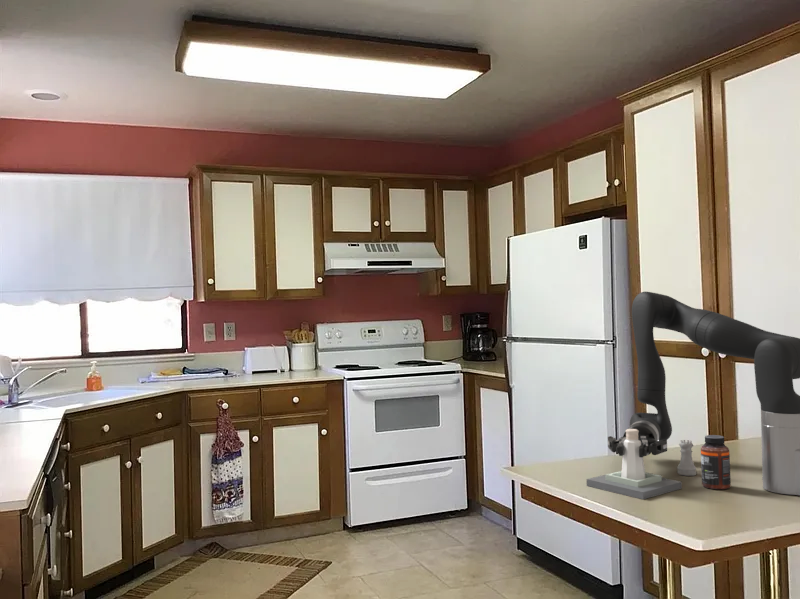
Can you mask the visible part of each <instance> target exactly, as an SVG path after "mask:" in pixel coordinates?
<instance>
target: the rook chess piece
mask: <svg viewBox="0 0 800 599" xmlns="http://www.w3.org/2000/svg"><path fill="white" fill-rule="evenodd" d="M678 446H679V447H680V450H679V451H680V461H679V463H678V465H677V467H676V468H677V471H676V473H677V474H678V475H679V476H682V477H683V476H684V477H693V476H694V477H695V476H696V475H697V467H696V466H695V463H694V461H693V457H692V456H693V455H692V453H693V449H692V448H693V447H694V444H693V443H692V440H690V439H689V440H688V439H682V440H680V442H679V444H678Z"/></svg>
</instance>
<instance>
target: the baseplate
mask: <svg viewBox="0 0 800 599" xmlns="http://www.w3.org/2000/svg"><path fill="white" fill-rule="evenodd" d="M621 471H622V470H619V471H616V472H615V471H614V472H609V473H605V474H603V475H602V474H601V475H599V476H594V477H589V478H586V487H589V488H594V489H598V490H603V491H606V492H607V491H608V492H611V493H616V494H619V495H623V496H629V497H630V498H631V497H632V498H636V499H640V500H646V499H649V498H653V497H656V496H659V495H663V494H666V493H670V492H674V491H679V490H682V488H683V485H682V483H683V482H682V481H679V480H675V479H670V478H666V477H662V475H661V474H656V473H650V472H646V471H645V477H646V478H645V479H641V480H633V479H628V478H623V477H621Z"/></svg>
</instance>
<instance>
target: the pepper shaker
mask: <svg viewBox="0 0 800 599" xmlns="http://www.w3.org/2000/svg"><path fill="white" fill-rule="evenodd" d="M625 431H626V439H627V440H625V441H624V455H623V456H622V458H621V459H622V461H621V470H620V471H621V477H623V478H628V479H633V480H641V479H645V478H646V477H645V472H646V469H645V464H644V461H645V460H644V457H639V447H640V446H641V441H640V440H638V432H639V431H638V430H637V429H628V428H627V429H625Z"/></svg>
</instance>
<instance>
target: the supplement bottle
mask: <svg viewBox="0 0 800 599" xmlns="http://www.w3.org/2000/svg"><path fill="white" fill-rule="evenodd" d="M704 442H705V443H704V444H703V445H701V447H700V465H701V466H700V468H701V485H702V487H704V488H707V489H711V490H719V491H721V490H723V491H724V490H727V489H730V488H731V487H732V485H731V482H732V481H731V458H730V457H731V454H730V449H729V447H728V446H727V445H725V437H724V436H723V435H716V434H708V435H705V436H704Z"/></svg>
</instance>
